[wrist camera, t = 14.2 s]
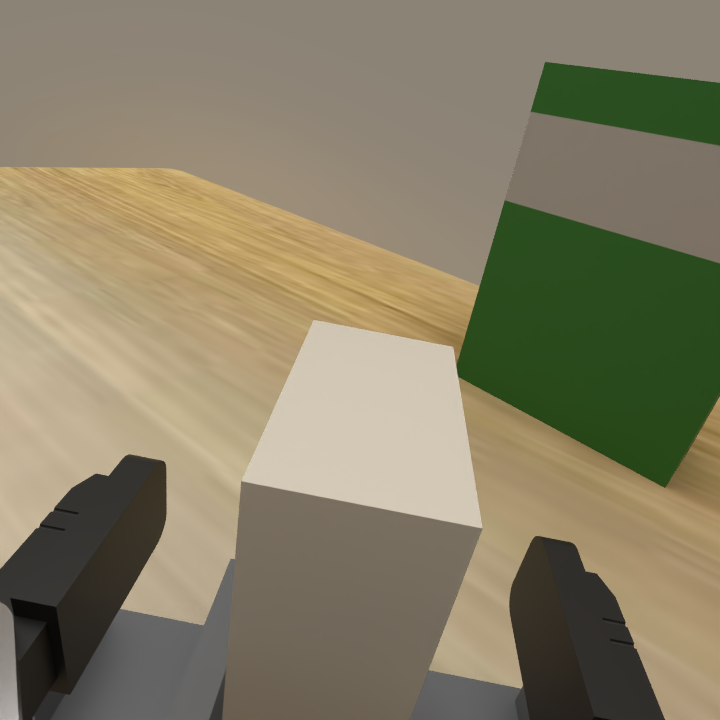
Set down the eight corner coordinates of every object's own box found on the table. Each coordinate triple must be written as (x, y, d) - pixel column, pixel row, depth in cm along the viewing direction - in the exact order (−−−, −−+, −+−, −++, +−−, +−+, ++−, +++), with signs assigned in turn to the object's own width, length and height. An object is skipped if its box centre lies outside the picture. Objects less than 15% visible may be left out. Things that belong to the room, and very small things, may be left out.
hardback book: (454, 374, 45) (545, 62, 34) (495, 354, 50) (586, 78, 39) (664, 487, 35) (886, 102, 24) (689, 449, 41) (881, 117, 30)
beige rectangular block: (253, 750, 16) (314, 319, 9) (334, 765, 16) (452, 346, 9) (202, 960, 12) (241, 481, 5) (308, 982, 12) (482, 528, 5)
